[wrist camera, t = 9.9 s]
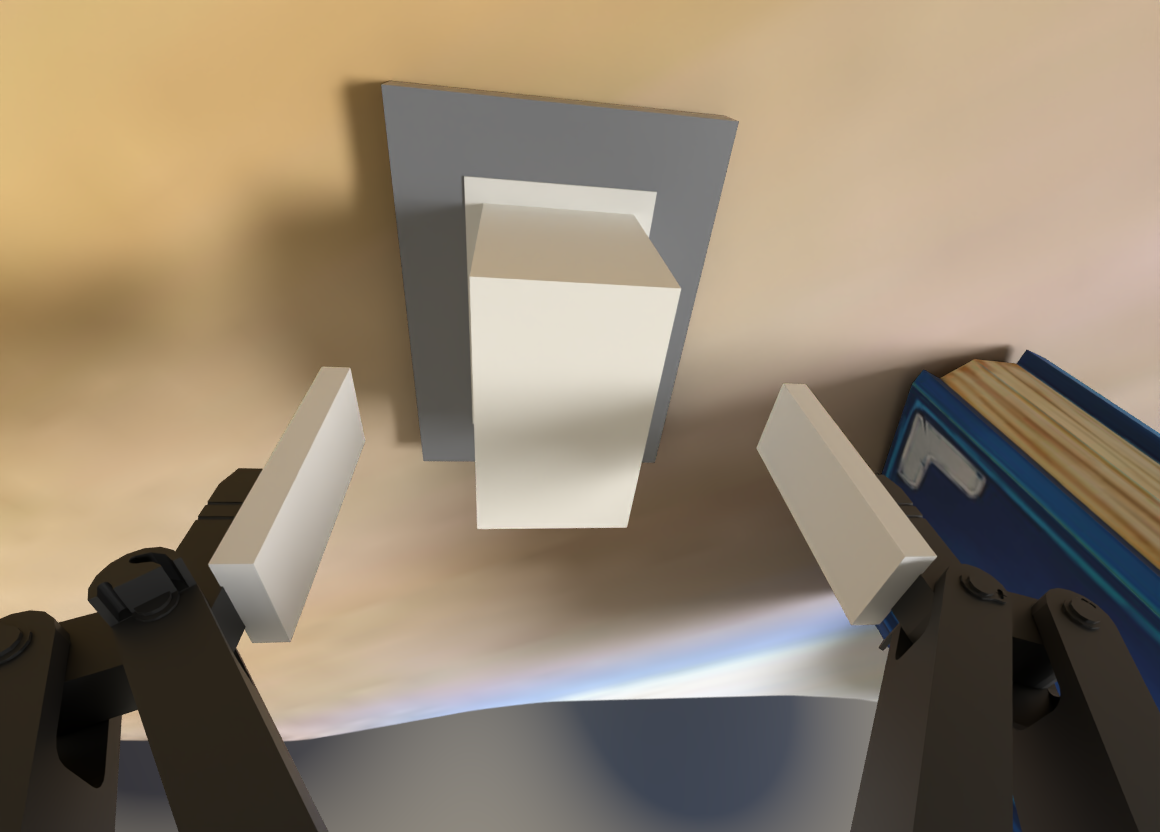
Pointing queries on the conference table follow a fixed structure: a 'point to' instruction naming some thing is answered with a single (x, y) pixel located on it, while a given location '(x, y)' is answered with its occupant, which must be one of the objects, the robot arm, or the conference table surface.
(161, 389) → the conference table surface
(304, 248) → the conference table surface
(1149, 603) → the book
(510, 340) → the block
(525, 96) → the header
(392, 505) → the conference table surface
